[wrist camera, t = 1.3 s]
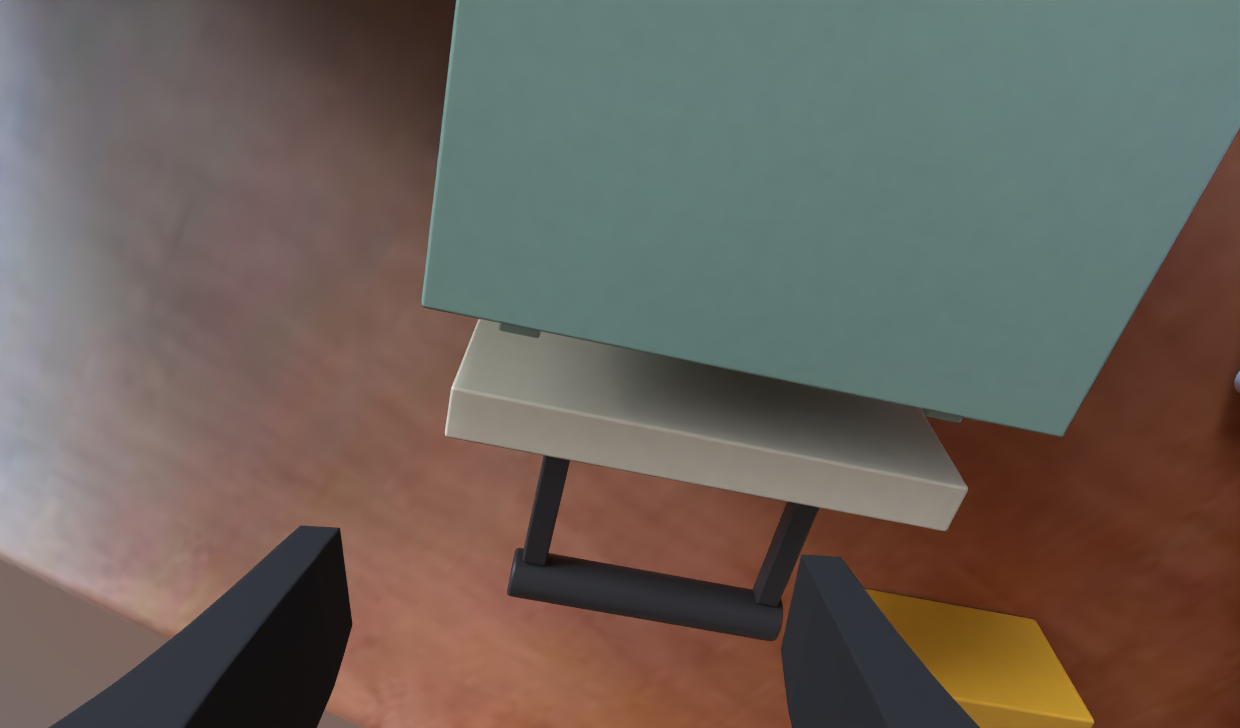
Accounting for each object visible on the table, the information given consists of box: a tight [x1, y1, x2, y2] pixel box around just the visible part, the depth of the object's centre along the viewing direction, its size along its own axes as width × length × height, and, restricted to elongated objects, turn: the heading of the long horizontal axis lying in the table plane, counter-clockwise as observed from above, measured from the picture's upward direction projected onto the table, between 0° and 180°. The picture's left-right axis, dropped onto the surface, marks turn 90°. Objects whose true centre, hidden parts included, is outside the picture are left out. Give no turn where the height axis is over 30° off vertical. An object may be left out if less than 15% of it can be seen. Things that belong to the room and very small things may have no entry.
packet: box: [865, 589, 1094, 728], centre depth 26 cm, size 6×3×4 cm, turn 78°
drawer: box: [445, 319, 968, 641], centre depth 18 cm, size 18×11×5 cm, turn 167°
